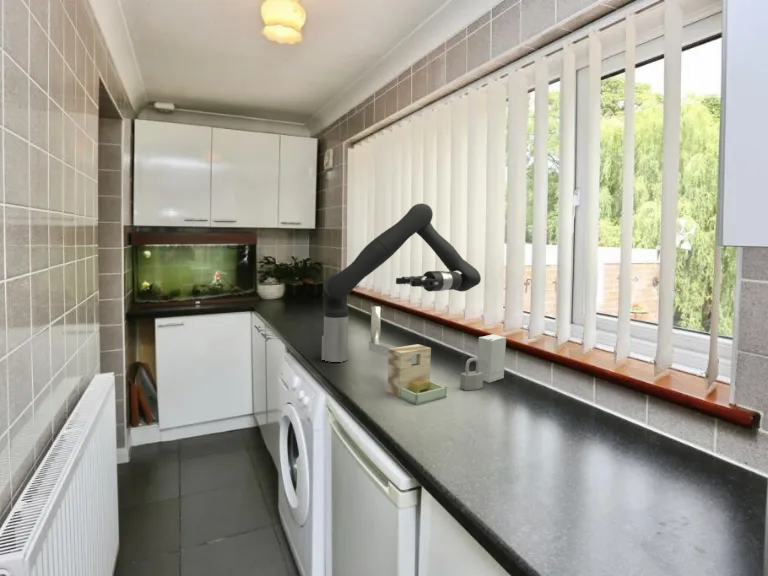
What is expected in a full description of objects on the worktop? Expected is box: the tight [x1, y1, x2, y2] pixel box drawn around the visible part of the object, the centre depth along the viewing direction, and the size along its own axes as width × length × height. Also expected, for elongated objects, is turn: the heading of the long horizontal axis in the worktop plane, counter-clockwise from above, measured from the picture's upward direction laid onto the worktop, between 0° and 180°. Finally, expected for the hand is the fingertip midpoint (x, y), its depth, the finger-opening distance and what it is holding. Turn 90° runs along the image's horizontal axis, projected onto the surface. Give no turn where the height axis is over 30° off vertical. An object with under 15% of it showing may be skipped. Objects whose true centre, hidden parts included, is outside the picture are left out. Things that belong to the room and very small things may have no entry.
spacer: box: [410, 379, 432, 394], centre depth 135 cm, size 4×5×4 cm
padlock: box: [459, 357, 484, 391], centre depth 144 cm, size 7×4×10 cm, turn 118°
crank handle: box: [368, 305, 418, 365], centre depth 145 cm, size 22×3×15 cm, turn 38°
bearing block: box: [386, 343, 432, 398], centre depth 139 cm, size 6×12×14 cm, turn 127°
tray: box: [399, 380, 448, 406], centre depth 134 cm, size 7×12×3 cm, turn 127°
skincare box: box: [477, 333, 507, 383], centre depth 154 cm, size 8×6×15 cm
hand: (404, 282), depth 158 cm, fingers open, 8 cm apart
